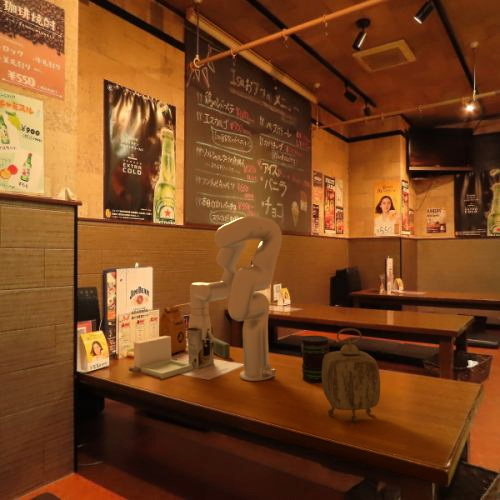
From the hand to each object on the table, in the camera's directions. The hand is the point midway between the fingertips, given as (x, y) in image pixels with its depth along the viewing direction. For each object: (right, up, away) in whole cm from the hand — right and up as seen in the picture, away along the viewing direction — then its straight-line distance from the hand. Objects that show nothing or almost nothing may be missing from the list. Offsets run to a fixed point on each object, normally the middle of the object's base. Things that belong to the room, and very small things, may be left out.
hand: (200, 354), depth 173 cm
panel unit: (-21, -5, +2) cm, 21 cm away
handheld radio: (+5, -5, +21) cm, 22 cm away
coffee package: (-16, -6, +25) cm, 30 cm away
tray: (-13, -5, -7) cm, 16 cm away
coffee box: (0, -5, 0) cm, 5 cm away
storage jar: (+45, -3, -24) cm, 51 cm away
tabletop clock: (+49, -3, -59) cm, 77 cm away
